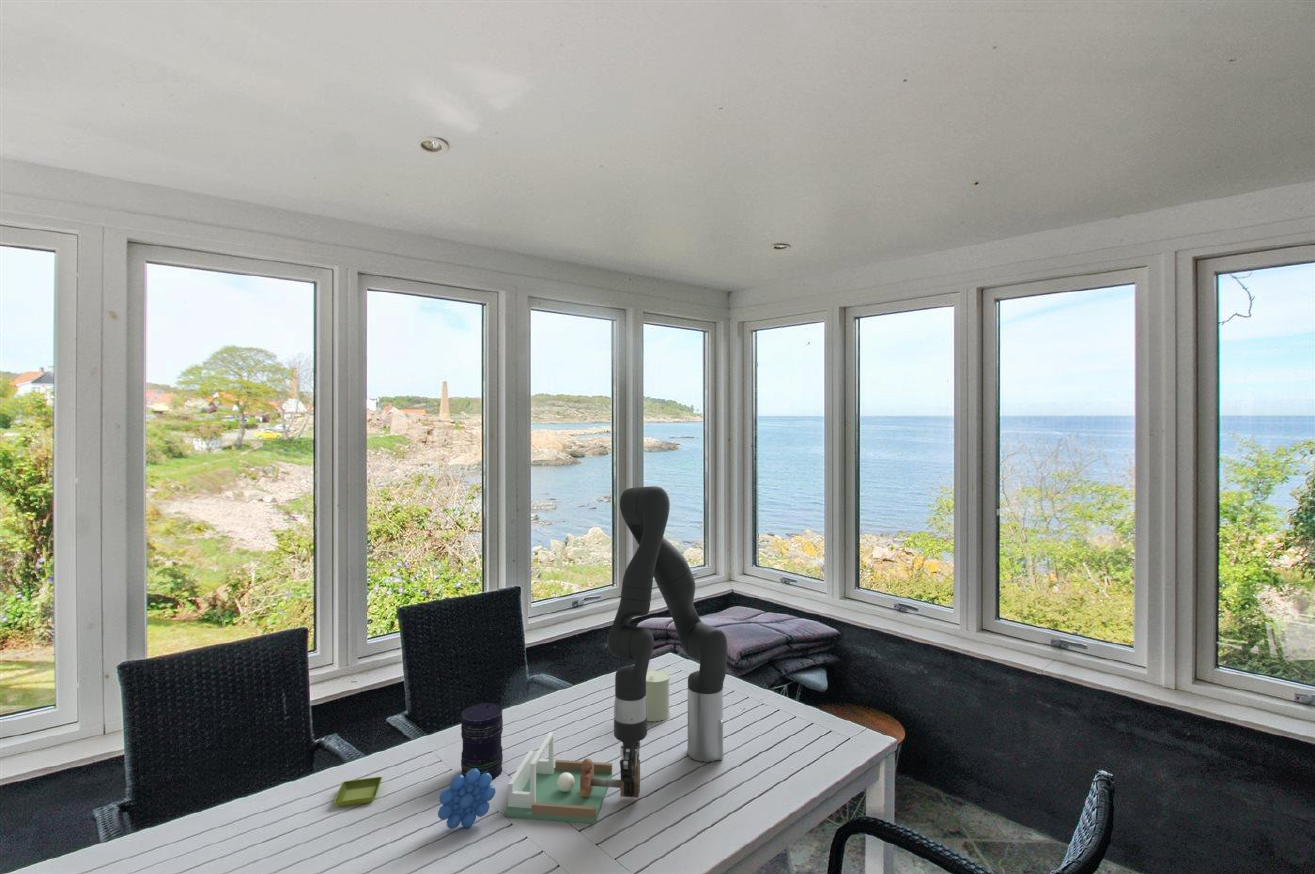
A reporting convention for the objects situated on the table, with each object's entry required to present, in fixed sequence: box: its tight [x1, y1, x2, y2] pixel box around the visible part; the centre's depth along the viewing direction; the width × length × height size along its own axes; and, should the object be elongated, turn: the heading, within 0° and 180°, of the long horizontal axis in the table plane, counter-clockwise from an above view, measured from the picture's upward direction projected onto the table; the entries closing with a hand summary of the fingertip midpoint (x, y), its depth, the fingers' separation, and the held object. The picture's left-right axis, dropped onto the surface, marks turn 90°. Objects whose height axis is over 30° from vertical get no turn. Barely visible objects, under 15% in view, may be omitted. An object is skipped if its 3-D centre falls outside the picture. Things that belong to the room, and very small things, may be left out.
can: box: [646, 670, 671, 723], centre depth 185 cm, size 9×9×12 cm
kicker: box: [580, 758, 641, 799], centre depth 141 cm, size 13×5×7 cm, turn 83°
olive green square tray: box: [333, 776, 383, 807], centre depth 142 cm, size 9×9×2 cm
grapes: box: [437, 768, 496, 830], centre depth 132 cm, size 12×7×12 cm, turn 108°
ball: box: [557, 772, 575, 792], centre depth 143 cm, size 4×4×4 cm
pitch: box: [504, 731, 613, 825], centre depth 143 cm, size 20×19×11 cm
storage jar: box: [460, 702, 504, 781], centre depth 152 cm, size 10×10×15 cm
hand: (630, 790), depth 141 cm, fingers closed on kicker, 3 cm apart
